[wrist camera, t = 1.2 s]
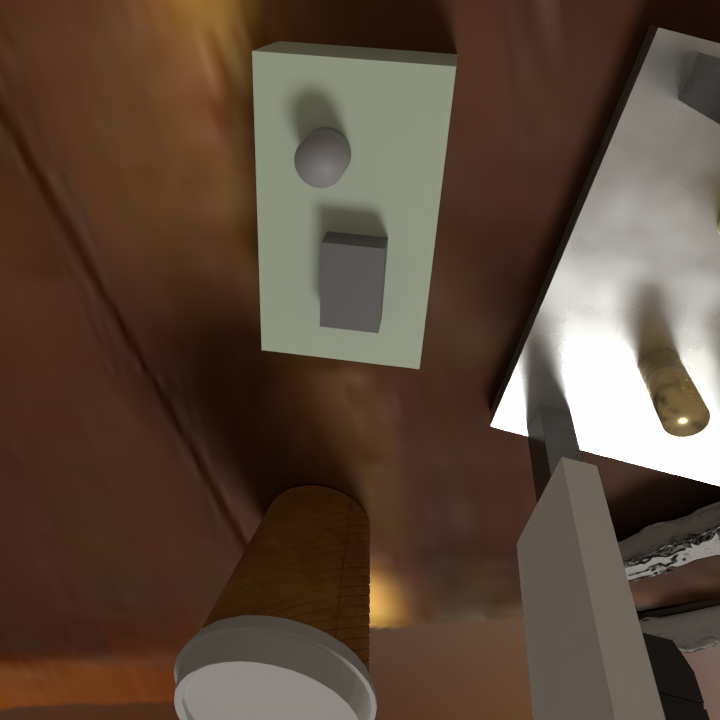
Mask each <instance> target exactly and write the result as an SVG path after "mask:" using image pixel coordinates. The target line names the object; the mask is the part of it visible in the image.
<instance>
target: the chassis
mask: <svg viewBox="0 0 720 720" xmlns="http://www.w3.org/2000/svg"><path fill="white" fill-rule="evenodd" d="M490 424H491V426H492V427H496V428H500V429H504V430H507V431H511V432H515V433H519V434H523V435H526V436H528V442H529V449H530V456H531V463H532V471H533V478H534V485H535V492H536V500H537V503H538V502H539V500H540V498H541V496H542V494H543V492H544V490H545V488H546V486H547V484H548V482H549V480H550V478H551V476H552V474H553V472H554V470H555V468H556V467H557V465H558V463H559V461H560V459H561V457H565V458H569V459H572V460H576V461H580V462H583V459H582V455H581V451H580V450H584V451H587V452H591V453H595V454H599V455H603V456H607V457H610V458H614V459H618V460H622V461H626V462H629V463H633V464H637V465H641V466H645V467H648V468H652V469H656V470H660V471H664V472H668V473H671V474H675V475H679V476H683V477H687V478H690V479H694V480H698V481H702V482H706V483H710V484H713V485H717V486H720V43H717V42H713V41H709V40H705V39H701V38H698V37H694V36H690V35H686V34H682V33H678V32H674V31H671V30H667V29H663V28H659V27H655V26H651V25H650V26H649V28H648V31H647V33H646V36H645V38H644V41H643V43H642V45H641V48H640V50H639V53H638V55H637V57H636V60H635V62H634V65H633V67H632V70H631V72H630V74H629V77H628V79H627V82H626V84H625V86H624V89H623V91H622V94H621V96H620V99H619V101H618V103H617V106H616V108H615V111H614V113H613V115H612V118H611V120H610V123H609V125H608V128H607V130H606V132H605V135H604V137H603V140H602V142H601V144H600V147H599V149H598V152H597V154H596V157H595V159H594V161H593V164H592V166H591V169H590V171H589V173H588V176H587V178H586V181H585V183H584V186H583V188H582V190H581V193H580V195H579V198H578V200H577V202H576V205H575V207H574V210H573V212H572V215H571V217H570V219H569V222H568V224H567V227H566V229H565V231H564V234H563V236H562V239H561V241H560V244H559V246H558V248H557V251H556V253H555V256H554V258H553V260H552V263H551V265H550V268H549V270H548V273H547V275H546V277H545V280H544V282H543V285H542V287H541V289H540V292H539V294H538V297H537V299H536V302H535V304H534V306H533V309H532V311H531V314H530V316H529V318H528V321H527V323H526V326H525V328H524V331H523V333H522V335H521V338H520V340H519V343H518V345H517V347H516V350H515V352H514V355H513V357H512V360H511V362H510V364H509V367H508V369H507V372H506V374H505V376H504V379H503V381H502V384H501V386H500V389H499V391H498V393H497V396H496V398H495V401H494V403H493V405H492V408H491V410H490Z"/></svg>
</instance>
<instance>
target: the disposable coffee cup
mask: <svg viewBox="0 0 720 720" xmlns="http://www.w3.org/2000/svg"><path fill="white" fill-rule="evenodd" d="M369 549H370V523H369V520H368V518H367V516H366V514H365V512H364V511H363V509H362V508H361V507H360V506H359V505H358V504H357V503H356V502H355V501H354V500H353V499H351V498H350V497H348V496H347V495H345V494H343V493H341V492H339V491H337V490H334V489H331V488H328V487H322V486H315V485H305V486H299V487H294V488H291V489H288V490H286V491H284V492H283V493H281V494H279V495H278V496H277V497H276V498H275V499H274V500H273V502H272V503H271V505H270V507H269V509H268V510H267V512H266V514H265V516H264V518H263V519H262V521H261V523H260V525H259V527H258V528H257V530H256V532H255V534H254V536H253V537H252V539H251V541H250V543H249V545H248V546H247V548H246V550H245V552H244V553H243V555H242V557H241V559H240V561H239V563H238V564H237V566H236V568H235V570H234V572H233V573H232V575H231V577H230V579H229V581H228V582H227V584H226V586H225V587H224V589H223V591H222V593H221V595H220V597H219V598H218V600H217V602H216V604H215V606H214V607H213V609H212V611H211V613H210V615H209V616H208V619H207V620H206V622H205V624H204V626H203V627H202V629H201V630H200V631H199V632H198V633H197V634H196V635H195V636H194V637H193V638H192V639H191V640H190V641H189V642H187V643H186V645H185V646H184V647H183V648H182V650H181V651H180V653H179V655H178V657H177V659H176V663H175V667H174V677H175V681H176V689H175V698H174V704H175V709H176V712H177V714H178V716H179V718H180V720H374V719H375V715H376V708H377V700H376V696H375V691H374V688H373V686H372V681H371V677H370V675H369V659H368V658H369V657H370V656H369V645H370V643H369V636H368V635H369V634H370V631H369V623H370V618H369V613H370V607H369V604H370V596H369V594H370V586H369V584H370V576H369V575H370V567H369V566H370V558H369V557H370V550H369Z"/></svg>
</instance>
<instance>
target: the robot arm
mask: <svg viewBox="0 0 720 720" xmlns="http://www.w3.org/2000/svg"><path fill="white" fill-rule="evenodd" d="M517 552H518V563H519V573H520V584H521V594H522V605H523V616H524V626H525V637H526V647H527V657H528V669H529V679H530V690H531V700H532V711H533V720H709V717H708V714H707V710H705V709H704V707H703V705H704V701H703V698H702V696H701V692H700V689H699V686H698V683H697V680H696V677H695V674H694V671H693V670H692V668H691V667H690V665H689V664H688V662H687V661H686V659H685V658H684V656H683V655H682V653H681V652H680V650H679V649H678V647H677V646H676V644H675V643H674V641H673V640H669V639H665V638H662V637H658V636H654V635H650V634H646V633H643V632H642V631H641V627H640V623H639V620H638V616H637V612H636V609H635V605H634V601H633V598H632V594H631V590H630V586H629V583H628V579H627V575H626V572H625V568H624V564H623V561H622V557H621V553H620V550H619V546H618V542H617V539H616V535H615V531H614V528H613V524H612V520H611V516H610V513H609V509H608V505H607V502H606V498H605V494H604V491H603V487H602V483H601V480H600V476H599V472H598V469H597V466H595V465H592V464H588V463H584V462H580V461H576V460H572V459H569V458H565V457H561V459H560V461H559V463H558V465H557V467H556V468H555V470H554V472H553V474H552V476H551V478H550V480H549V482H548V484H547V486H546V488H545V490H544V492H543V494H542V496H541V498H540V500H539V502H538V503H537V505H536V507H535V509H534V511H533V513H532V515H531V517H530V519H529V521H528V523H527V525H526V527H525V529H524V531H523V533H522V535H521V537H520V538H519V540H518V542H517Z"/></svg>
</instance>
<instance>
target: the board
mask: <svg viewBox="0 0 720 720" xmlns="http://www.w3.org/2000/svg"><path fill="white" fill-rule="evenodd" d="M252 64H253V96H254V127H255V158H256V189H257V221H258V252H259V283H260V315H261V346H262V350H265V351H273V352H282V353H290V354H298V355H307V356H315V357H323V358H332V359H340V360H348V361H357V362H365V363H373V364H381V365H390V366H398V367H406V368H415V369H419V368H420V360H421V352H422V343H423V335H424V327H425V319H426V310H427V302H428V294H429V286H430V278H431V269H432V261H433V253H434V245H435V237H436V228H437V220H438V212H439V204H440V196H441V187H442V179H443V171H444V163H445V154H446V146H447V138H448V130H449V122H450V113H451V105H452V97H453V89H454V81H455V72H456V64H457V54H446V53H433V52H419V51H406V50H393V49H379V48H366V47H353V46H339V45H326V44H313V43H299V42H286V41H277V42H274V43H272V44H269V45H267V46H264V47H261V48H259V49H256V50H253V51H252Z"/></svg>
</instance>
